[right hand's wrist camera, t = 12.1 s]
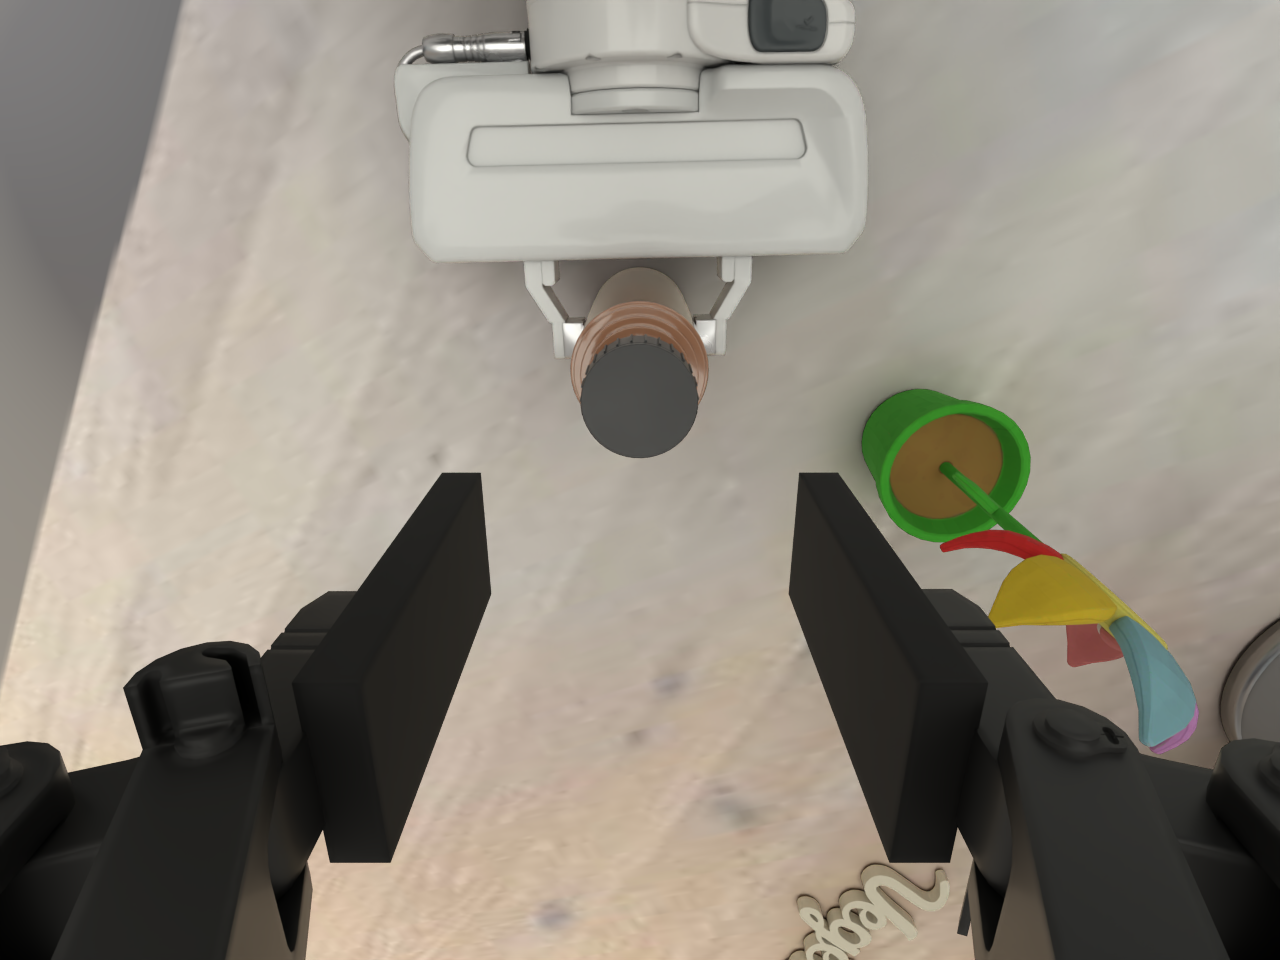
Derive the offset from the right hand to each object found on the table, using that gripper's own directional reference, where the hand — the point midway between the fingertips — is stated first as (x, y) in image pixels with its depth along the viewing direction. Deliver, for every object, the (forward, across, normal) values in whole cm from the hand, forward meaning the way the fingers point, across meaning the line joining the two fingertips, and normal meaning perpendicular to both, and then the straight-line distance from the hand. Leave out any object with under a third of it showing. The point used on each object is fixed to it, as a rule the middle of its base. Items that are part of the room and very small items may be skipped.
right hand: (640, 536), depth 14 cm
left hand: (+22, 0, -1) cm, 22 cm away
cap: (+10, 0, 0) cm, 10 cm away
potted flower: (+29, +17, -8) cm, 34 cm away
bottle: (+29, 0, 0) cm, 29 cm away
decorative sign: (+29, +15, -53) cm, 63 cm away
